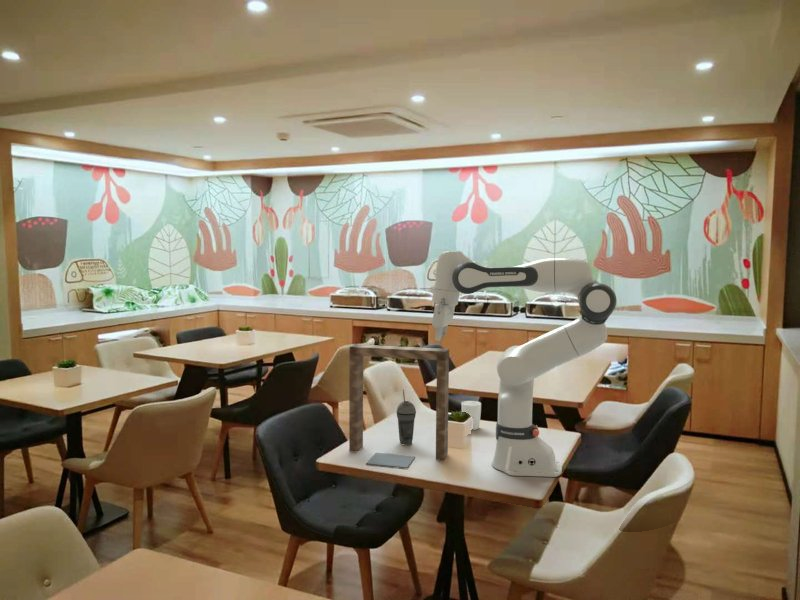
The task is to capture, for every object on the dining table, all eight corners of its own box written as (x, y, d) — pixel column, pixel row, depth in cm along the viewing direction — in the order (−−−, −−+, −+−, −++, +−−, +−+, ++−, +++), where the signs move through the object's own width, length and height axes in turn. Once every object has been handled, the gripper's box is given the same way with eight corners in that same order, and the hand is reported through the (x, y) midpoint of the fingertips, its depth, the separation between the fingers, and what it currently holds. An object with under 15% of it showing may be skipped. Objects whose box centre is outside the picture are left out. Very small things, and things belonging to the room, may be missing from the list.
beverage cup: (413, 447, 216) (414, 392, 214) (394, 445, 217) (394, 391, 216) (417, 440, 223) (418, 387, 221) (398, 439, 224) (398, 386, 223)
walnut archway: (447, 454, 208) (449, 348, 205) (444, 460, 202) (445, 351, 199) (355, 445, 217) (355, 344, 214) (349, 450, 211) (349, 346, 208)
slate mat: (415, 457, 204) (415, 456, 204) (407, 468, 194) (407, 467, 193) (376, 454, 208) (376, 452, 208) (366, 464, 197) (366, 463, 197)
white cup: (483, 426, 243) (483, 401, 242) (477, 431, 236) (477, 406, 235) (464, 423, 246) (464, 399, 245) (458, 428, 239) (458, 404, 238)
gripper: (450, 301, 190) (444, 343, 192) (458, 298, 210) (453, 336, 211) (430, 298, 192) (425, 340, 193) (441, 295, 212) (436, 334, 213)
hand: (440, 338), depth 202 cm, fingers open, 8 cm apart
